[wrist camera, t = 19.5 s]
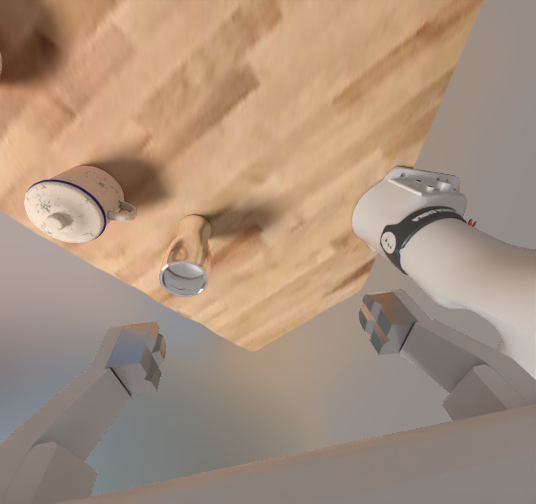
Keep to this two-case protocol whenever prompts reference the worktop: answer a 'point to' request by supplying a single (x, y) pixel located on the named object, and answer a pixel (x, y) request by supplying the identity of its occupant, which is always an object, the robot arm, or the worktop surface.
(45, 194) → the teacup with lid
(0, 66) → the lidded jar
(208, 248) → the beer glass
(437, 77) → the worktop surface
